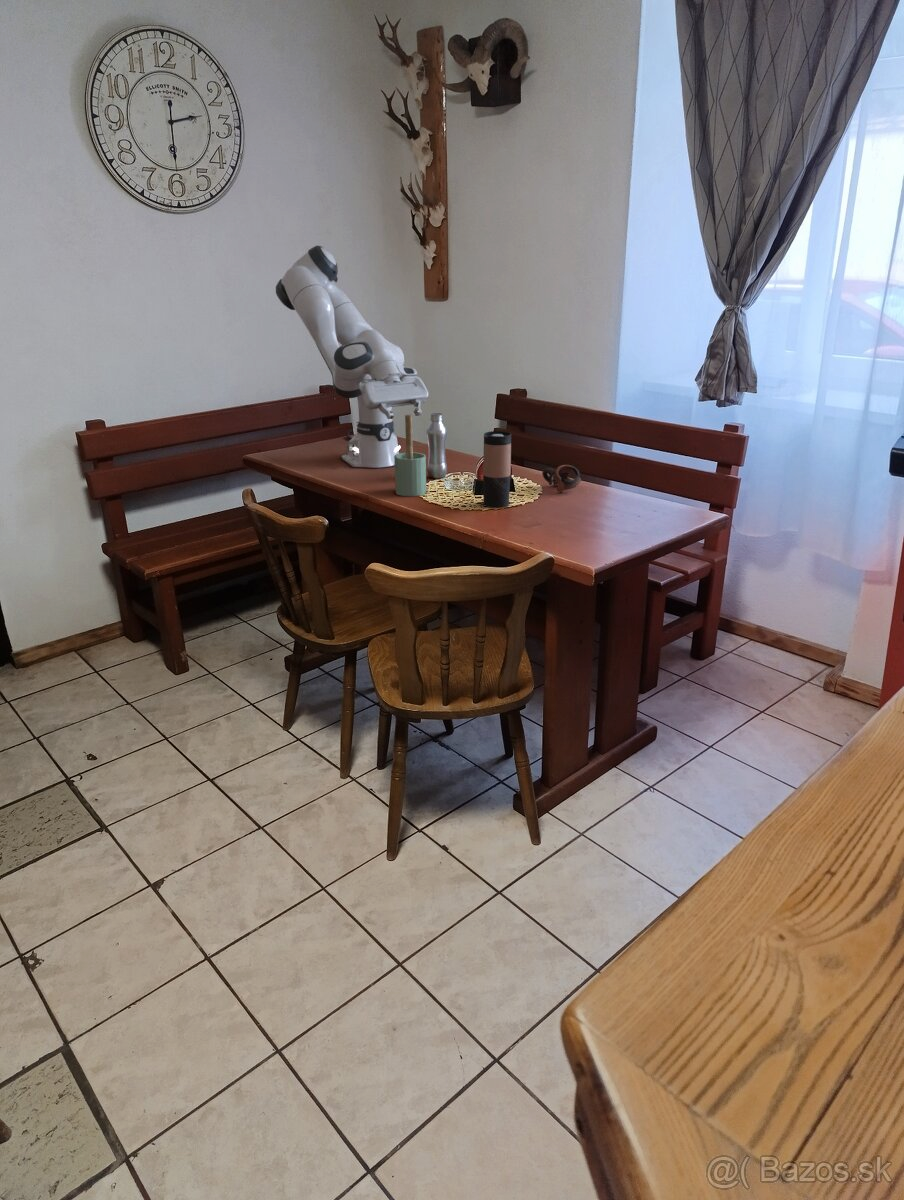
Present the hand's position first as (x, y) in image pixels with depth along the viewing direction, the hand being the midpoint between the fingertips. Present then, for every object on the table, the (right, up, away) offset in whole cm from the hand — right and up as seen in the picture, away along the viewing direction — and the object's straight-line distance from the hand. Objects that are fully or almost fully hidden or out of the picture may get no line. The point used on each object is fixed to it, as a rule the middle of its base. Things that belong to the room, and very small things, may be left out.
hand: (405, 416), depth 237 cm
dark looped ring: (+47, -20, +8) cm, 51 cm away
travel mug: (+26, -27, -7) cm, 38 cm away
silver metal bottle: (+9, -15, +21) cm, 28 cm away
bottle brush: (+1, -21, +5) cm, 21 cm away
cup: (+1, -22, +5) cm, 22 cm away
